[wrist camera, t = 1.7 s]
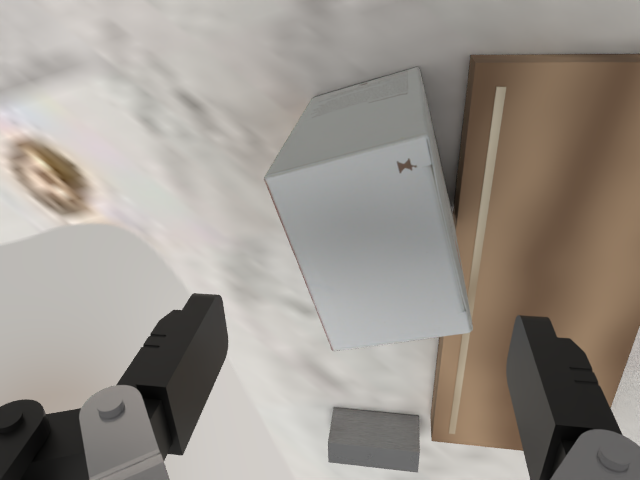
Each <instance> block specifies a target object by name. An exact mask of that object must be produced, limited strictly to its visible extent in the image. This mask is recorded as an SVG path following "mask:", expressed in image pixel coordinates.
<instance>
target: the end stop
mask: <svg viewBox="0 0 640 480" xmlns="http://www.w3.org/2000/svg"><path fill="white" fill-rule="evenodd" d="M419 454H420V445H419V416H414V415H404V414H393V413H383V412H373V411H363V410H353V409H343V408H334V409H333V415H332V421H331V427H330V433H329V439H328V458H329V462H331V463H340V464H349V465H357V466H366V467H375V468H384V469H392V470H401V471H410V472H418V464H419Z"/></svg>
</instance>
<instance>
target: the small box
mask: <svg viewBox="0 0 640 480" xmlns="http://www.w3.org/2000/svg"><path fill="white" fill-rule="evenodd" d="M264 180H265V183H266V185H267V187H268V190H269V192H270V195H271V197H272V200H273V203H274V205H275V208H276V210H277V213H278V215H279V218H280V220H281V223H282V225H283V228H284V230H285V233H286V235H287V238H288V240H289V243H290V245H291V248H292V250H293V253H294V255H295V257H296V260H297V262H298V265H299V268H300V270H301V273H302V275H303V277H304V280H305V283H306V285H307V288H308V290H309V293H310V295H311V298H312V300H313V303H314V305H315V308H316V310H317V313H318V315H319V318H320V320H321V323H322V326H323V328H324V331H325V333H326V336H327V338H328V341H329V343H330V346H331V349H332V350H333V351H340V350H349V349H357V348H364V347H371V346H378V345H385V344H393V343H400V342H407V341H414V340H421V339H429V338H436V337H443V336H450V335H458V334H465V333H470V332H471V331H472V330H473V325H472V319H471V314H470V308H469V303H468V297H467V292H466V286H465V281H464V275H463V270H462V264H461V259H460V253H459V248H458V243H457V237H456V231H455V225H454V220H453V214H452V209H451V205H450V201H449V196H448V192H447V187H446V183H445V179H444V174H443V170H442V165H441V161H440V157H439V152H438V148H437V143H436V139H435V134H434V129H433V125H432V120H431V116H430V111H429V107H428V102H427V98H426V94H425V89H424V85H423V80H422V76H421V72H420V68H419V67H415V68H412V69H409V70H406V71H402V72H399V73H395V74H392V75H388V76H385V77H381V78H378V79H375V80H371V81H368V82H364V83H361V84H357V85H354V86H350V87H347V88H344V89H340V90H337V91H334V92H330V93H327V94H324V95H320V96H317V97H314V98H312V99H311V101H310V103H309V104H308V106H307V108H306V109H305V111H304V112H303V114H302V116H301V117H300V119H299V121H298V123H297V124H296V126H295V127H294V129H293V131H292V132H291V134H290V136H289V137H288V139H287V141H286V142H285V144H284V146H283V147H282V149H281V150H280V152H279V154H278V155H277V157H276V159H275V161H274V162H273V164H272V165H271V167H270V169H269V170H268V172H267V174H266V176H265V177H264Z"/></svg>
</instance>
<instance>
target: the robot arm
mask: <svg viewBox="0 0 640 480" xmlns="http://www.w3.org/2000/svg"><path fill="white" fill-rule="evenodd" d="M227 350H228V334H227V327H226V320H225V314H224V307H223V301H222V298H221V296H220V295H212V294H197V293H194V294H192V295H191V297H190V298H189V300H188V302H187V303H186V305H185V306H184V308H183V310H173V311H172V312H170V313H169V314H168V315H166V316H165V317H164V318H162V319H161V320H160V321H159V322H158V323H157V325H156V327H155V328H154V329H153V331H152V332H151V336H149V337H148V338H147V340H146V341H145V343H144V346H143V347H142V348H141V349H140V351H139V352H138V354H137V355H136V356H135V358H134V359H133V361H132V362H131V364H130V366H129V367H128V368H127V370H126V371H125V373H124V375H123V376H122V377H121V379H120V380H119V382H118V384H117V385H116V386H111V387H108V388H105V389H103V390H101V391H99V392H97V393H95V394H94V395H92V396H91V397H90V398H89V399H88V400H87V401H86V402H85V403H84V405H83V406H82V408H80V409H75V410H69V411H63V412H57V413H51V414H45V411H44V409H43V407H42V406H41V404H40V403H38V402H37V401H34V400H18V401H14V402H11V403H8V404H5V405H3V406H1V407H0V480H169V476H168V473H167V470H166V467H165V464H164V460H165V458H166V456H167V454H175V455H183V453H184V451H185V449H186V447H187V444H188V442H189V440H190V437H191V435H192V433H193V431H194V429H195V426H196V424H197V422H198V419H199V417H200V415H201V413H202V410H203V408H204V406H205V404H206V401H207V399H208V397H209V394H210V392H211V390H212V388H213V386H214V383H215V381H216V379H217V376H218V374H219V372H220V370H221V367H222V365H223V363H224V361H225V358H226V355H227ZM506 377H507V384H508V388H509V392H510V397H511V401H512V405H513V409H514V413H515V417H516V422H517V426H518V430H519V434H520V438H521V442H522V447H523V451H524V455H525V459H526V463H527V468H528V472H529V476H530V480H640V447H639V446H638V445H637V444H636V443H635V442H633V441H632V440H630V439H629V438H627V437H625V436H623V435H622V433H621V431H620V428H619V426H618V424H617V422H616V420H615V417H614V415H613V413H612V411H611V409H610V406H609V404H608V402H607V400H606V398H605V395H604V393H603V391H602V389H601V387H600V386H599V385H598V380H597V378H596V376H595V373H594V372H593V371H592V367H591V364H590V362H589V360H588V358H587V356H586V353H585V352H584V351H583V350H582V349H581V348H580V347H579V346H578V345H577V344H576V343H575V342H573V341H572V340H571V339H570V338H559V337H557V336H556V333H555V330H554V328H553V325H552V323H551V321H550V319H549V318H548V317H540V316H524V315H518V316H517V317H516V319H515V323H514V327H513V332H512V337H511V342H510V347H509V352H508V357H507V363H506Z"/></svg>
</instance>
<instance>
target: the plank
mask: <svg viewBox="0 0 640 480" xmlns="http://www.w3.org/2000/svg"><path fill="white" fill-rule="evenodd" d="M453 220H454V225H455V231H456V237H457V243H458V248H459V253H460V259H461V264H462V270H463V275H464V281H465V286H466V292H467V297H468V303H469V308H470V314H471V319H472V325H473V330H472V331H471V332H470V333H465V334H458V335H450V336H443V337H439V345H438V354H437V363H436V372H435V381H434V391H433V400H432V409H431V437H432V441H437V442H446V443H456V444H465V445H475V446H484V447H494V448H503V449H513V450H522V451H523V447H522V442H521V438H520V434H519V430H518V426H517V422H516V417H515V413H514V409H513V405H512V401H511V397H510V392H509V388H508V384H507V377H506V363H507V357H508V352H509V347H510V342H511V337H512V332H513V327H514V323H515V319H516V317H517V316H518V315H524V316H540V317H548V318H549V319H550V321H551V323H552V325H553V328H554V330H555V333H556V336H557V337H559V338H570V339H571V340H572V341H573V342H575V343H576V344H577V345H578V346H579V347H580V348H581V349H582V350H583V351H584V352H585V353H586V356H587V358H588V360H589V362H590V364H591V367H592V371H593V372H594V373H595V376H596V378H597V380H598V385H599V386H600V387H601V389H602V391H603V393H604V395H605V398H606V400H607V402H608V404H609V406H610V408H611V405H612V402H613V399H614V397H615V394H616V391H617V388H618V385H619V383H620V380H621V377H622V374H623V371H624V368H625V366H626V363H627V360H628V357H629V354H630V352H631V349H632V346H633V343H634V340H635V337H636V335H637V332H638V329H639V326H640V54H548V55H471V56H470V65H469V74H468V83H467V92H466V101H465V110H464V119H463V128H462V137H461V147H460V156H459V165H458V174H457V183H456V192H455V201H454V210H453Z"/></svg>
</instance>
